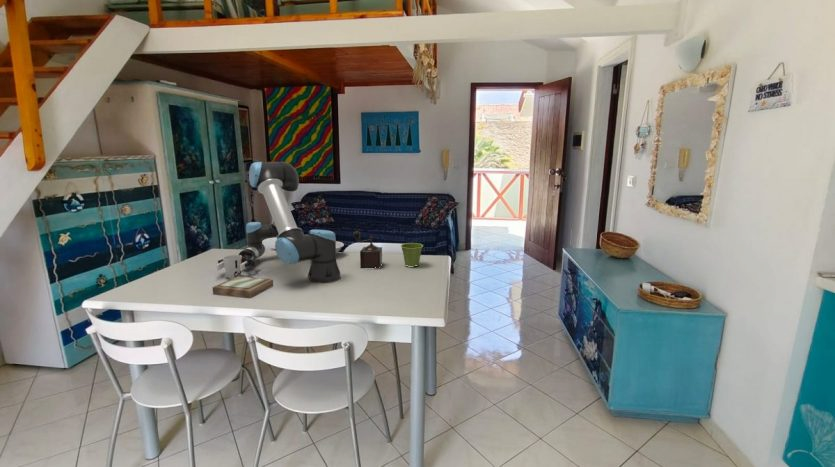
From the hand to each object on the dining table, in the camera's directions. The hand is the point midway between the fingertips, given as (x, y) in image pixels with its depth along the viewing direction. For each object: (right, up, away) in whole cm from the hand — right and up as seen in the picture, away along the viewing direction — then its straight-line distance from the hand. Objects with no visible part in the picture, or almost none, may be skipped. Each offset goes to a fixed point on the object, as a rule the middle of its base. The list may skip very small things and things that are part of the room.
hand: (229, 267), depth 183 cm
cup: (0, -5, +5) cm, 8 cm away
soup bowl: (+33, +3, +46) cm, 57 cm away
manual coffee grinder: (+61, -2, +26) cm, 66 cm away
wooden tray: (+12, -9, -12) cm, 19 cm away
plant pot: (+84, -2, +27) cm, 89 cm away
